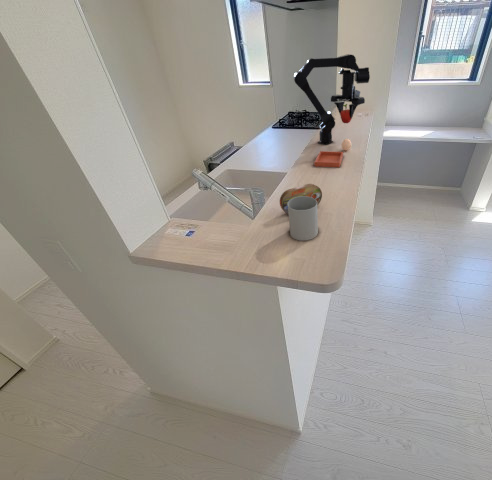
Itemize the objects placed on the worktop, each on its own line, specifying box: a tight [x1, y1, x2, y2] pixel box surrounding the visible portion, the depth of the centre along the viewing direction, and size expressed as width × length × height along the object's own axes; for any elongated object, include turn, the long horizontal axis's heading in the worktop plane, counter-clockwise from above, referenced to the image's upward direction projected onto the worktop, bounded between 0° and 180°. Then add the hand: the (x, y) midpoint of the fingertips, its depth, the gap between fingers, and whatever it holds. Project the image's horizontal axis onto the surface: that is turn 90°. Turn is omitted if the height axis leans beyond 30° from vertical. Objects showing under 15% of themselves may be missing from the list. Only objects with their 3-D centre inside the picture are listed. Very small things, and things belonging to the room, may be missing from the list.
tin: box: [279, 183, 323, 215], centre depth 89 cm, size 15×3×8 cm, turn 117°
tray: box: [313, 150, 344, 168], centre depth 128 cm, size 15×12×2 cm
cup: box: [287, 196, 319, 242], centre depth 78 cm, size 8×8×10 cm
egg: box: [341, 138, 352, 152], centre depth 138 cm, size 5×5×6 cm
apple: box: [339, 103, 354, 124], centre depth 144 cm, size 8×7×10 cm
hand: (346, 117), depth 145 cm, fingers closed on apple, 6 cm apart
